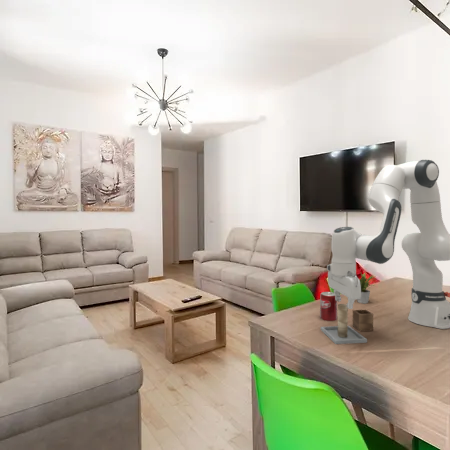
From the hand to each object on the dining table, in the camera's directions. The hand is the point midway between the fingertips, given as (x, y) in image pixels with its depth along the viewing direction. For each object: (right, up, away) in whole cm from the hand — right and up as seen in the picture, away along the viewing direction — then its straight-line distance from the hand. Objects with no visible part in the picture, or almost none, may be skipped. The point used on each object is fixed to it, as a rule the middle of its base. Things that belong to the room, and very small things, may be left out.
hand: (343, 304), depth 124 cm
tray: (0, -13, +1) cm, 13 cm away
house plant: (+28, -11, +46) cm, 56 cm away
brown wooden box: (+11, -13, +9) cm, 19 cm away
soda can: (+1, -12, +21) cm, 24 cm away
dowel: (0, -12, +1) cm, 12 cm away
